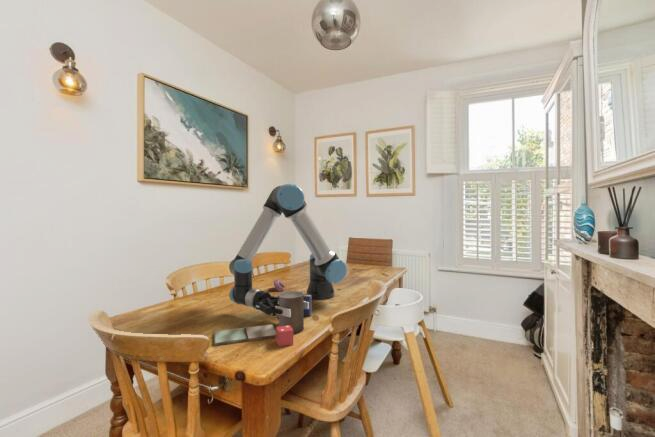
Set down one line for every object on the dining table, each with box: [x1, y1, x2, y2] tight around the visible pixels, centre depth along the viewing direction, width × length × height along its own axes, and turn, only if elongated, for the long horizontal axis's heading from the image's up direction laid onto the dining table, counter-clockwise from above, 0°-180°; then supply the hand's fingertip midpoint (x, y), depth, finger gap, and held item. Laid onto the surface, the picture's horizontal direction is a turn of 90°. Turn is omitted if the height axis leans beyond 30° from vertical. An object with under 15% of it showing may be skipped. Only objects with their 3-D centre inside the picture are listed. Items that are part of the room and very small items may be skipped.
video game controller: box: [273, 279, 285, 292], centre depth 176 cm, size 10×5×7 cm, turn 5°
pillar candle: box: [278, 290, 305, 335], centre depth 117 cm, size 10×10×15 cm
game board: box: [213, 323, 276, 347], centre depth 112 cm, size 22×11×1 cm, turn 111°
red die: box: [275, 325, 294, 348], centre depth 106 cm, size 5×5×5 cm
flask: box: [299, 290, 313, 317], centre depth 133 cm, size 9×3×11 cm, turn 74°
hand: (299, 309), depth 115 cm, fingers open, 10 cm apart
